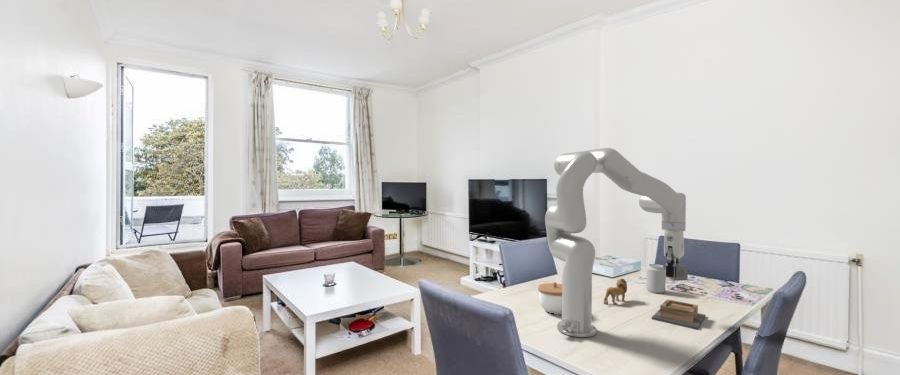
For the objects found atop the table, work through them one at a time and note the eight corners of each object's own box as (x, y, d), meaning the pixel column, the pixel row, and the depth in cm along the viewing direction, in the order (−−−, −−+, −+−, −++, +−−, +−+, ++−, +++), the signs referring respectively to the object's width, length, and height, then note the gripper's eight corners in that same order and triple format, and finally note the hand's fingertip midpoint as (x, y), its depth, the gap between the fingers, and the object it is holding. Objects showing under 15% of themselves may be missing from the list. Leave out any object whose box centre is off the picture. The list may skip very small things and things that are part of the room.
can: (642, 290, 171) (643, 264, 171) (653, 288, 174) (654, 262, 174) (657, 294, 164) (658, 267, 164) (669, 292, 167) (669, 266, 167)
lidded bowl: (548, 318, 137) (548, 288, 136) (532, 307, 149) (532, 279, 148) (578, 315, 140) (579, 285, 140) (560, 304, 152) (560, 277, 152)
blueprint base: (697, 329, 126) (697, 316, 126) (651, 319, 136) (651, 306, 136) (705, 316, 138) (705, 304, 138) (663, 307, 148) (663, 296, 147)
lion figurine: (617, 297, 161) (617, 276, 161) (629, 300, 157) (630, 278, 157) (600, 304, 152) (600, 282, 151) (613, 308, 148) (613, 285, 147)
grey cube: (678, 276, 139) (678, 263, 139) (687, 280, 134) (687, 266, 134) (665, 276, 139) (665, 263, 139) (673, 280, 134) (673, 266, 134)
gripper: (680, 229, 128) (679, 282, 128) (689, 224, 140) (689, 272, 141) (656, 227, 133) (655, 278, 133) (667, 223, 145) (667, 269, 146)
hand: (673, 274), depth 137 cm, fingers closed on grey cube, 5 cm apart
